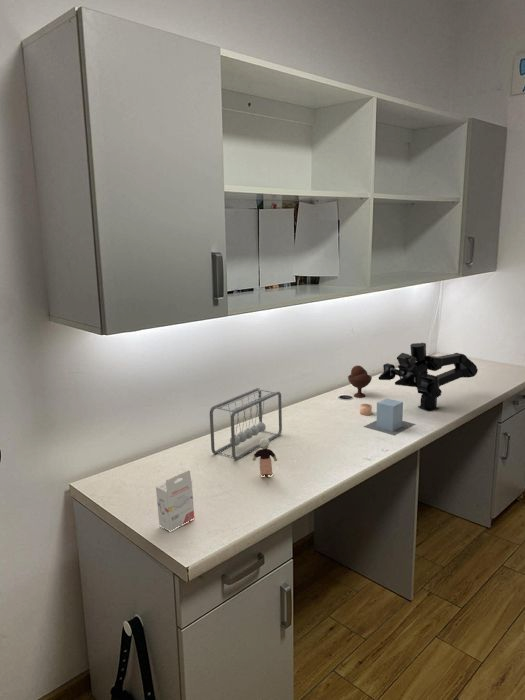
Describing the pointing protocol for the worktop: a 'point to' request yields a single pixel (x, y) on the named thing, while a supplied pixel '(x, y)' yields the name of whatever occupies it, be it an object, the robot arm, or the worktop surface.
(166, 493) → the ink cartridge box
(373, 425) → the mat
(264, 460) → the grandmother figurine
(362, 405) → the bowl
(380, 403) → the cover
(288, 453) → the worktop surface
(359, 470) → the worktop surface
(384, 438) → the worktop surface
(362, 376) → the ice cream bowl
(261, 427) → the newton's cradle
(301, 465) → the worktop surface
